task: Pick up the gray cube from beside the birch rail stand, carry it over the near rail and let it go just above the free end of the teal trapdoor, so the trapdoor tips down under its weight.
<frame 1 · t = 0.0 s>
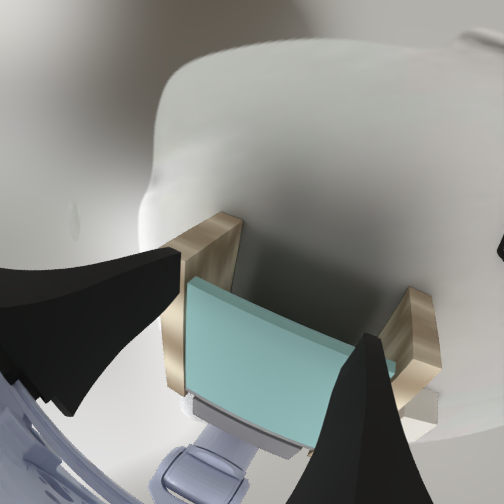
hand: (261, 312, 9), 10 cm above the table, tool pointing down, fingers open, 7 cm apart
rail stand: (298, 322, 22), on the table
gray cube: (411, 397, 20), on the table
trapdoor: (263, 392, 19), point 6 cm above the table, hinge at 0.0°
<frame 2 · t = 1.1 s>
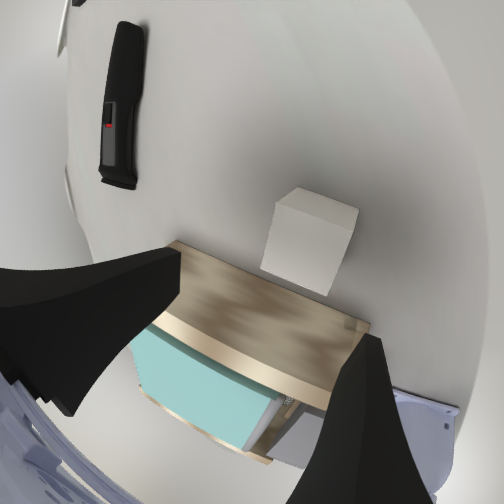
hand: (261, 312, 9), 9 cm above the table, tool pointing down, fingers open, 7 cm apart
rail stand: (232, 342, 25), on the table
gray cube: (319, 226, 17), on the table
electric trimmer: (131, 108, 20), on the table
trapdoor: (231, 401, 20), point 6 cm above the table, hinge at 0.0°
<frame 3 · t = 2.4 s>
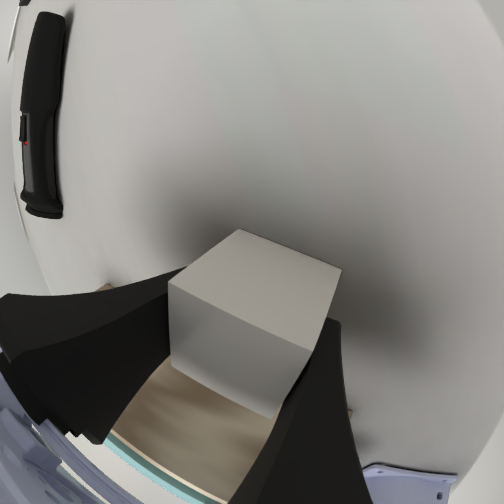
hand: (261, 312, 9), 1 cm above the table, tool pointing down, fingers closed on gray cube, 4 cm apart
rail stand: (187, 399, 19), on the table
gray cube: (275, 291, 11), on the table, touching gripper
electric trimmer: (56, 117, 13), on the table
trapdoor: (180, 472, 13), point 6 cm above the table, hinge at 0.0°
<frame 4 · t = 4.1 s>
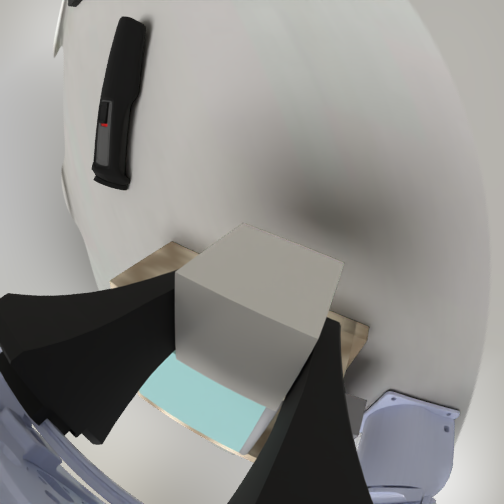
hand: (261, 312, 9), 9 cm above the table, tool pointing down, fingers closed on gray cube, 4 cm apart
rail stand: (230, 344, 25), on the table
gray cube: (279, 285, 11), point 7 cm above the table, touching gripper
electric trimmer: (128, 107, 19), on the table
trapdoor: (228, 404, 19), point 6 cm above the table, hinge at 0.0°
when the fingers open (10 cm above the table, at t = 6.4 s): gray cube drops 3 cm, resting on trapdoor.
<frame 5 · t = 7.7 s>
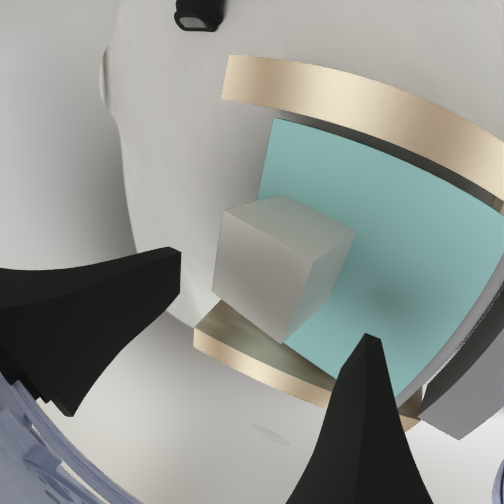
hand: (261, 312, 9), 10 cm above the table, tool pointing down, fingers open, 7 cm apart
rail stand: (356, 236, 17), on the table
gray cube: (306, 248, 13), point 5 cm above the table, tilted 16°, touching trapdoor
trapdoor: (407, 298, 12), point 5 cm above the table, hinge at -15.6°, touching gray cube
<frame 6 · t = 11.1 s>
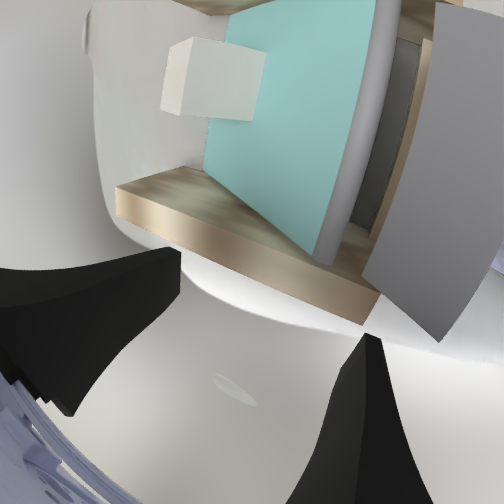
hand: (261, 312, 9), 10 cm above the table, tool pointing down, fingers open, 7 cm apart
rail stand: (279, 100, 16), on the table
gray cube: (240, 85, 13), point 3 cm above the table, tilted 32°, touching trapdoor
trapdoor: (329, 109, 11), point 4 cm above the table, hinge at -32.0°, touching gray cube
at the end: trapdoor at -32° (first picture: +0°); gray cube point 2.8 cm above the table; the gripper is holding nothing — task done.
